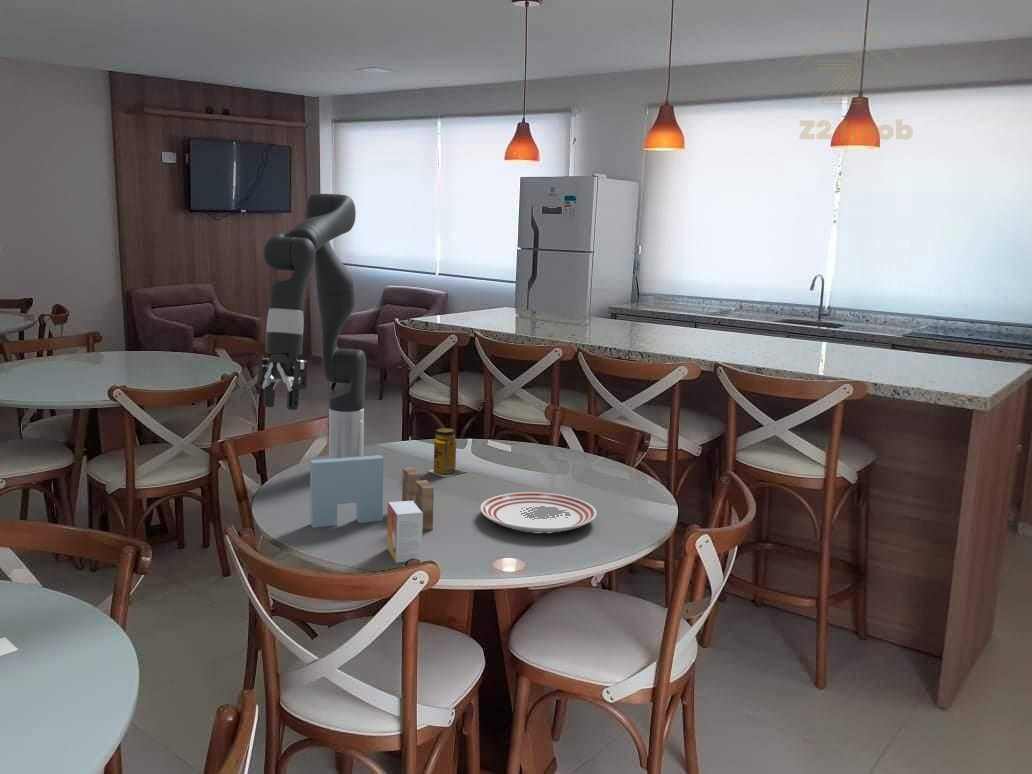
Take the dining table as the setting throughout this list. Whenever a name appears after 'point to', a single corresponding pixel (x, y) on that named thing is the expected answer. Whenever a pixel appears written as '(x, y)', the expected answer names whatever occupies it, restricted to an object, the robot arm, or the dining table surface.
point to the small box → (404, 531)
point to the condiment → (445, 453)
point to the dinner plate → (510, 505)
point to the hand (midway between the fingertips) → (280, 408)
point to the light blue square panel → (346, 488)
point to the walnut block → (419, 495)
